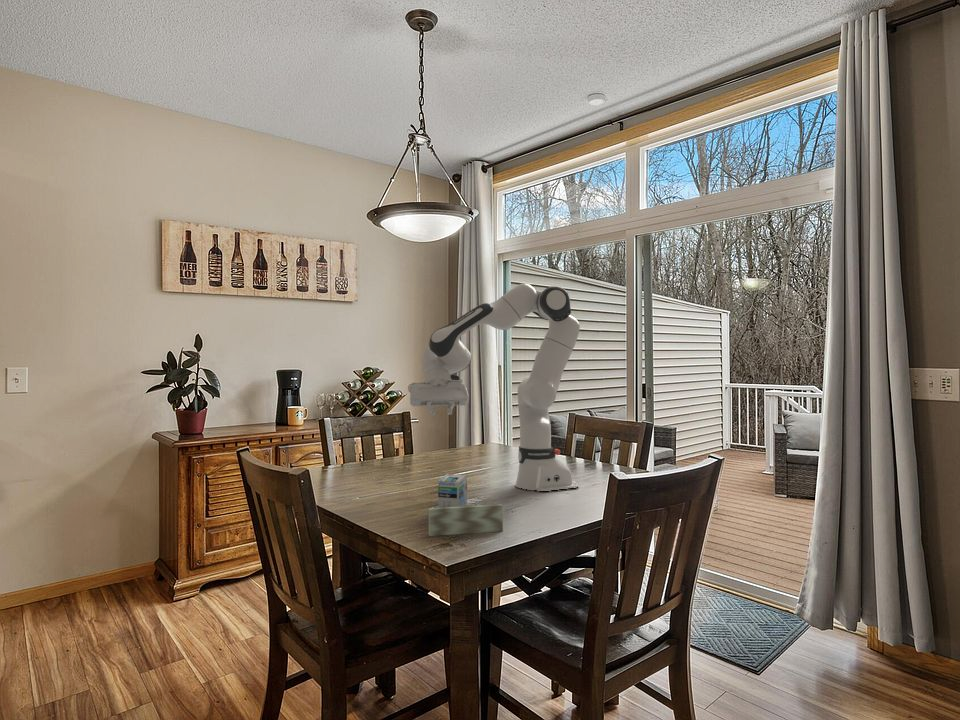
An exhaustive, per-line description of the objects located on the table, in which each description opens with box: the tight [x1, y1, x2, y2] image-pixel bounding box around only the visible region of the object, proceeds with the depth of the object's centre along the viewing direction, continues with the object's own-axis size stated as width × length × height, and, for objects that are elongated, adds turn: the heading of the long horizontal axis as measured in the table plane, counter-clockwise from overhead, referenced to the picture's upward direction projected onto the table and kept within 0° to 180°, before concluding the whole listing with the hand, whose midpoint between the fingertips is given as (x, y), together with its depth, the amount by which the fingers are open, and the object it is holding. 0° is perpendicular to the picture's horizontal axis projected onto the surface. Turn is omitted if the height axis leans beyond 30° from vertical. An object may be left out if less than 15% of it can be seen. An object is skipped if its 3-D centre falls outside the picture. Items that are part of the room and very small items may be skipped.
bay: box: [428, 502, 504, 537], centre depth 162 cm, size 20×14×7 cm
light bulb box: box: [437, 473, 468, 508], centre depth 174 cm, size 11×7×11 cm, turn 168°
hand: (441, 413), depth 195 cm, fingers open, 4 cm apart
